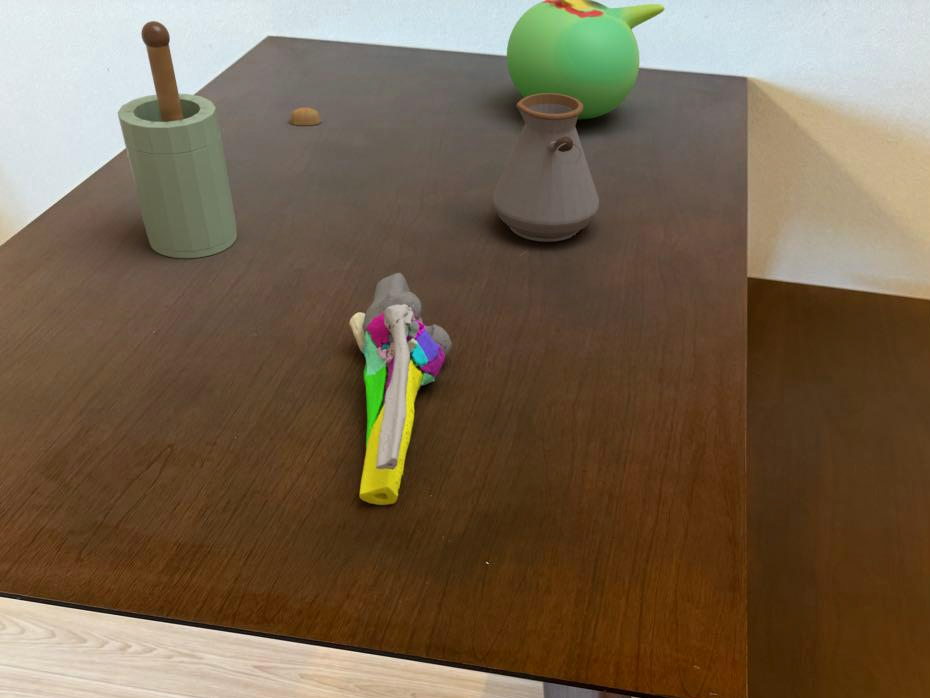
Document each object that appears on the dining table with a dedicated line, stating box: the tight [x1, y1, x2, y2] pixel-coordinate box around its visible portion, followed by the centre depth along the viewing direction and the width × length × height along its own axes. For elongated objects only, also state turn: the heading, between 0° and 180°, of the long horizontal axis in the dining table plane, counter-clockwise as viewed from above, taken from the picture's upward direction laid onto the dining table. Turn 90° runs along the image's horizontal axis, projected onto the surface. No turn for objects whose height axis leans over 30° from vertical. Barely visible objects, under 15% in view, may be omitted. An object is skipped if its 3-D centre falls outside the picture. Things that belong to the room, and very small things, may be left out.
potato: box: [289, 106, 322, 126], centre depth 124 cm, size 3×4×2 cm
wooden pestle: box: [141, 20, 183, 122], centre depth 93 cm, size 4×4×20 cm
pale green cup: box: [117, 93, 238, 259], centre depth 96 cm, size 9×9×13 cm
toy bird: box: [506, 0, 666, 120], centre depth 125 cm, size 18×17×15 cm
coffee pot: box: [492, 93, 600, 243], centre depth 97 cm, size 21×12×15 cm, turn 4°
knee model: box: [348, 272, 453, 506], centre depth 78 cm, size 9×8×25 cm
